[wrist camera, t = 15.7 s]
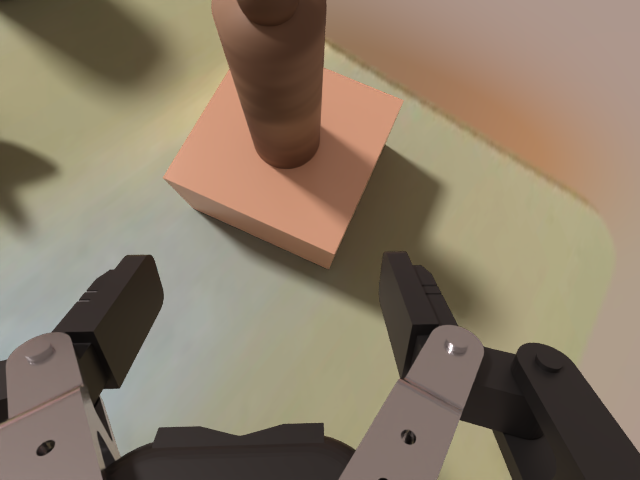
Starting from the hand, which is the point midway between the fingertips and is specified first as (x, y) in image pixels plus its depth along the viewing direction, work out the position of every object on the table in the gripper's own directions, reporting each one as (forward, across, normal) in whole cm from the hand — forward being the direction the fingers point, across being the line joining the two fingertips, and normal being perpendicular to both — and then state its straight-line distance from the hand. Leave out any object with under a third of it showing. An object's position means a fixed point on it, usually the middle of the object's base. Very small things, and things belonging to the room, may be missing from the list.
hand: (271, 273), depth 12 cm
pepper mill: (+13, 0, +1) cm, 13 cm away
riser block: (+18, 0, -3) cm, 18 cm away
